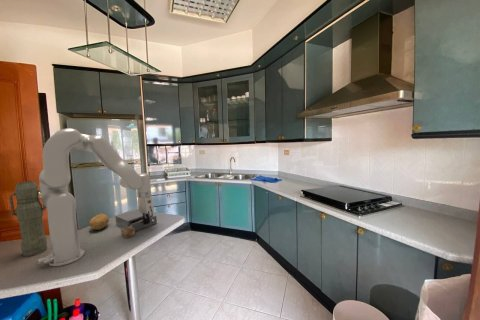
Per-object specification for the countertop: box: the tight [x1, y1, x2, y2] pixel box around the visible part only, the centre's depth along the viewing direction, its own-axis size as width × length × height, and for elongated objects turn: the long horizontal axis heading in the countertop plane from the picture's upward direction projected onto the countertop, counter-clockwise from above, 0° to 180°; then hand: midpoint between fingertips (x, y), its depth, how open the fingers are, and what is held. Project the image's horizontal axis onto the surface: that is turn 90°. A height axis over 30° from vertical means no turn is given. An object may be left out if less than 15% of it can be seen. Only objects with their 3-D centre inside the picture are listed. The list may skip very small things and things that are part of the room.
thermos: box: [9, 180, 48, 257], centre depth 100 cm, size 9×12×35 cm
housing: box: [115, 209, 154, 229], centre depth 132 cm, size 16×16×6 cm
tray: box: [130, 215, 158, 232], centre depth 130 cm, size 15×16×5 cm
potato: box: [88, 213, 109, 231], centre depth 126 cm, size 10×14×8 cm
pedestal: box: [120, 226, 136, 239], centre depth 115 cm, size 5×5×4 cm
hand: (146, 223), depth 124 cm, fingers closed
